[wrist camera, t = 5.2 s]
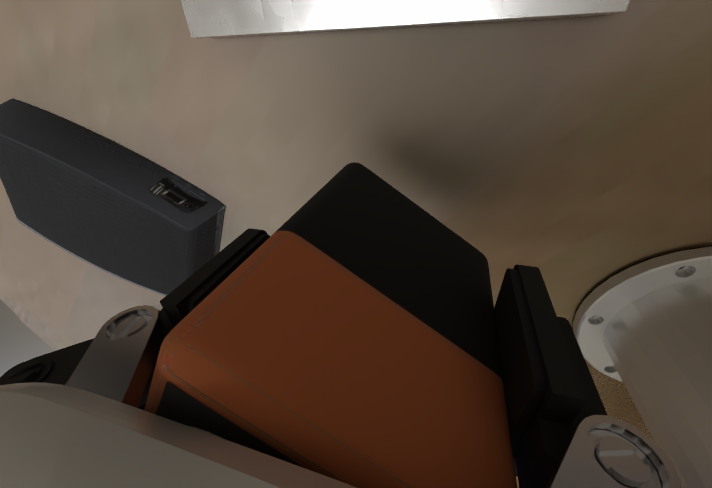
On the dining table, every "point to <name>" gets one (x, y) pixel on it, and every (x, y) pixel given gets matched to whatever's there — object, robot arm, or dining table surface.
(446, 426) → the battery
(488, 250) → the dining table surface
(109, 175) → the external hard drive
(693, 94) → the dining table surface
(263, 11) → the plate
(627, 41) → the dining table surface
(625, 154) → the dining table surface
